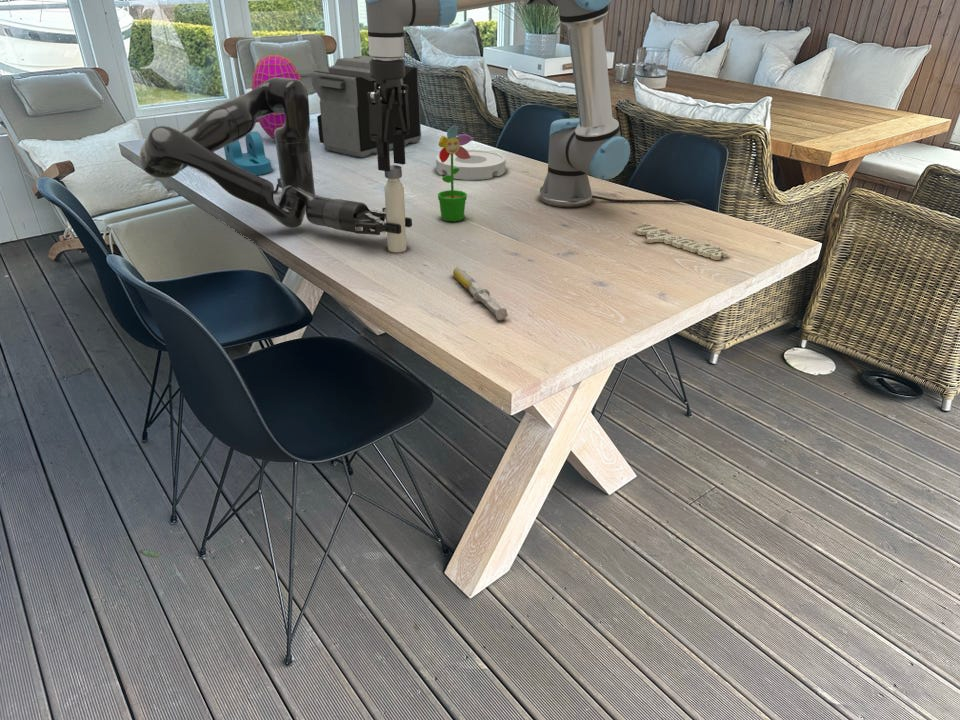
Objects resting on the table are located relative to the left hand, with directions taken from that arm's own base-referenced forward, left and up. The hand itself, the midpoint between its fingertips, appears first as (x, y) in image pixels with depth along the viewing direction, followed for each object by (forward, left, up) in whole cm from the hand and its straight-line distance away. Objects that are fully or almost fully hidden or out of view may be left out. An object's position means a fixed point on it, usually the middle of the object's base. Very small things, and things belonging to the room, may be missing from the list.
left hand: (405, 226), depth 164 cm
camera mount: (-93, +2, -6) cm, 93 cm away
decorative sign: (+39, +56, -6) cm, 68 cm away
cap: (-2, -1, +13) cm, 14 cm away
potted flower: (-12, +24, -6) cm, 27 cm away
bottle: (-2, -1, -6) cm, 7 cm away
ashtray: (-46, +58, -6) cm, 75 cm away
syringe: (+31, -3, -6) cm, 32 cm away
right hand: (-2, -1, +14) cm, 14 cm away
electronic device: (-96, +51, -6) cm, 108 cm away
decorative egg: (-124, +29, -6) cm, 127 cm away
